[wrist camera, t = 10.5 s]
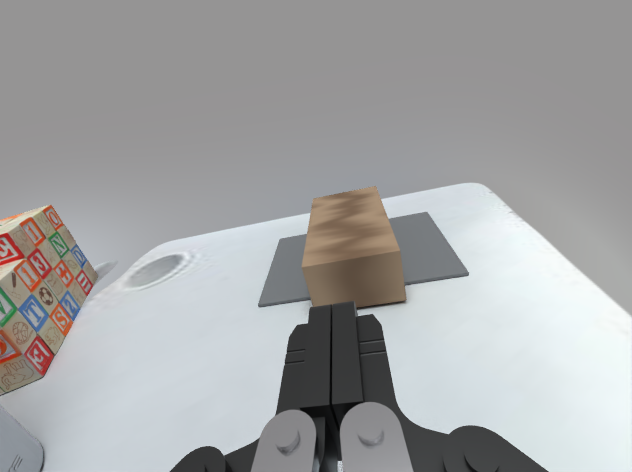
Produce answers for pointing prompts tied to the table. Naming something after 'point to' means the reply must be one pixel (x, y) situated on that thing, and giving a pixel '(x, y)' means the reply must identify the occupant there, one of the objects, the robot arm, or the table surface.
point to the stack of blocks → (37, 292)
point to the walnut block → (352, 251)
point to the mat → (415, 247)
